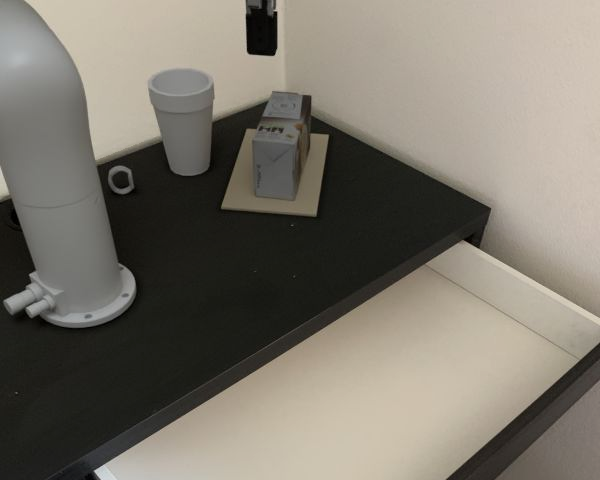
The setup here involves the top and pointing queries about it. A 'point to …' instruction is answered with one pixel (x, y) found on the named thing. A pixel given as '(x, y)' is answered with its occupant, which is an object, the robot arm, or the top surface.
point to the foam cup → (184, 117)
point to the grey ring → (130, 178)
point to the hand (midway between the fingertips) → (262, 52)
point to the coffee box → (281, 145)
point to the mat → (245, 199)
